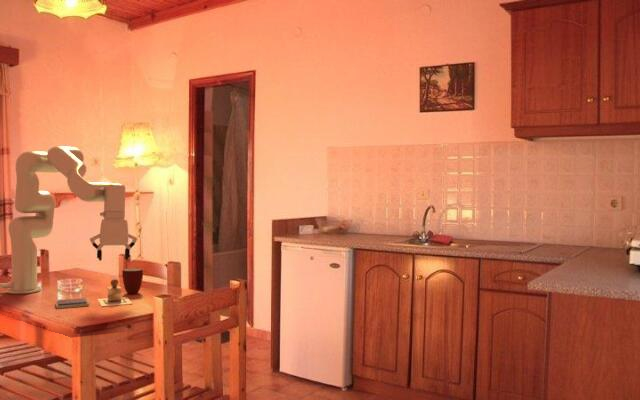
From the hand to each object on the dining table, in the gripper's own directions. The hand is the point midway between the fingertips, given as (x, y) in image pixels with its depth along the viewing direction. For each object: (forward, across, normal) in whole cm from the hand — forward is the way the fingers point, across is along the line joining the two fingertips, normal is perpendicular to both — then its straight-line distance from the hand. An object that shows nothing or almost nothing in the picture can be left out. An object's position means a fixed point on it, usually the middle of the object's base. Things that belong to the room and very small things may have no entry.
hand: (113, 259), depth 217 cm
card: (+16, +1, -1) cm, 16 cm away
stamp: (+16, +1, -1) cm, 16 cm away
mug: (+17, +10, +15) cm, 25 cm away
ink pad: (+17, -14, 0) cm, 22 cm away
